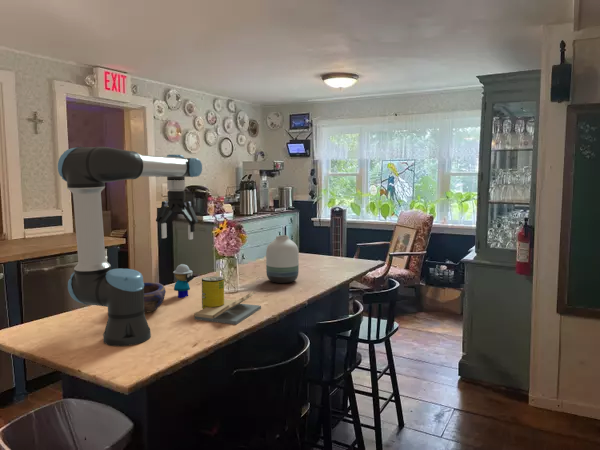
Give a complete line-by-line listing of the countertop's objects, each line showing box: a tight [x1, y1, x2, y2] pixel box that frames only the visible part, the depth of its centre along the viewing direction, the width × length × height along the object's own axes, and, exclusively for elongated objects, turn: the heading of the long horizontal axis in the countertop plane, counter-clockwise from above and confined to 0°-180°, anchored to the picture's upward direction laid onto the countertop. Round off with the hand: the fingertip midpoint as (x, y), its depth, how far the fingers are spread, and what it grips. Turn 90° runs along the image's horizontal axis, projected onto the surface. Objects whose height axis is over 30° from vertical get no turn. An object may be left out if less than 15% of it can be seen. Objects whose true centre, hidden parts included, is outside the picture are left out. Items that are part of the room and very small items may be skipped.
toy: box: [172, 263, 194, 299], centre depth 211 cm, size 8×9×15 cm
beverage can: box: [201, 275, 225, 309], centre depth 190 cm, size 9×9×12 cm
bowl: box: [144, 282, 167, 313], centre depth 190 cm, size 18×18×10 cm
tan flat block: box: [214, 298, 242, 317], centre depth 179 cm, size 10×8×1 cm
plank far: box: [232, 291, 256, 308], centre depth 190 cm, size 10×8×1 cm
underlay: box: [194, 298, 262, 325], centre depth 186 cm, size 22×18×2 cm
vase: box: [265, 234, 300, 284], centre depth 241 cm, size 17×17×24 cm
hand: (177, 238), depth 204 cm, fingers open, 13 cm apart
